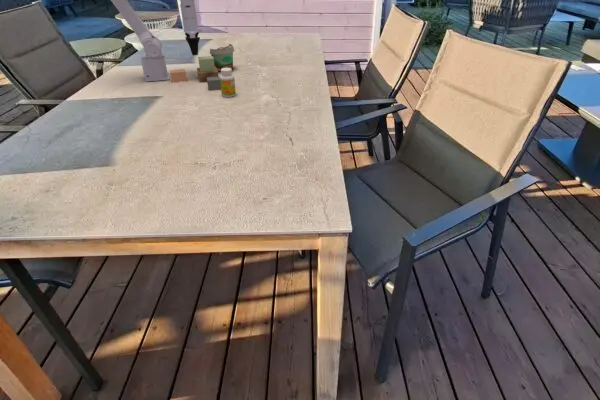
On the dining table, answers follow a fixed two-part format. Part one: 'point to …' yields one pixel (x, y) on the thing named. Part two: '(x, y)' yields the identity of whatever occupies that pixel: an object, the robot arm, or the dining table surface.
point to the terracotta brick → (178, 75)
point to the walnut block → (206, 75)
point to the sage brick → (206, 64)
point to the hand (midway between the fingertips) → (194, 52)
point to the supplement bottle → (227, 83)
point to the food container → (223, 57)
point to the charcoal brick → (213, 83)
